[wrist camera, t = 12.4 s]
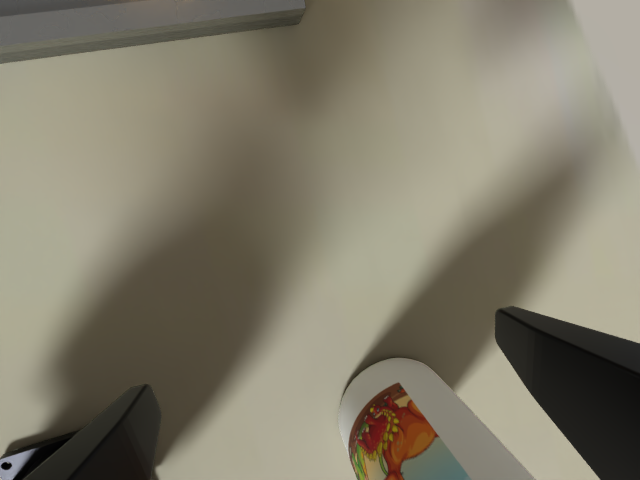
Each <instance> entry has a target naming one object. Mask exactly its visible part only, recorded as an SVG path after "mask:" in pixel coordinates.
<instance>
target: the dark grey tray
mask: <svg viewBox="0 0 640 480" xmlns="http://www.w3.org/2000/svg"><path fill="white" fill-rule="evenodd" d="M305 8H306V7H305V1H304V0H0V63H8V62H15V61H23V60H31V59H38V58H46V57H53V56H61V55H68V54H76V53H83V52H91V51H98V50H106V49H113V48H121V47H128V46H136V45H144V44H151V43H159V42H166V41H174V40H181V39H189V38H196V37H204V36H211V35H219V34H226V33H234V32H241V31H249V30H257V29H264V28H272V27H279V26H287V25H294V24H299V22H300V19H301V17H302V15H303V13H304V11H305Z"/></svg>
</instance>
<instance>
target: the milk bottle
mask: <svg viewBox="0 0 640 480" xmlns="http://www.w3.org/2000/svg"><path fill="white" fill-rule="evenodd" d="M338 424H339V430H340V433H341V436H342V439H343V442H344V445H345V448H346V451H347V453H348V456H349V458H350V461H351V464H352V466H353V469H354V472H355V474H356V477H357V480H536V479H535V478H534V477H533V476H532V475H531V474H530V473H529V472H528V471H527V470H526V468H525V467H524V466H523V465H522V464H521V463H520V462H519V461H518V460H517V459H516V458H515V457H514V455H513V454H512V453H511V452H510V451H509V450H508V449H507V448H506V447H505V446H504V445H503V444H502V443H501V441H500V440H499V439H498V438H497V437H496V436H495V435H494V434H493V433H492V432H491V431H490V430H489V429H488V428H487V426H486V425H485V424H484V423H483V422H482V421H481V420H480V419H479V418H478V417H477V416H476V415H475V414H474V413H473V412H472V410H471V409H470V408H469V407H468V406H467V405H466V404H465V403H464V402H463V401H462V400H461V399H460V398H459V397H458V396H457V395H456V393H455V392H454V391H453V390H452V389H451V388H450V387H449V386H448V385H447V384H446V383H445V382H444V381H443V380H442V379H441V378H440V377H439V376H438V375H437V374H436V373H435V372H434V371H433V370H432V369H431V368H430V367H428V366H427V365H425V364H423V363H421V362H419V361H416V360H412V359H408V358H390V359H386V360H383V361H379V362H377V363H375V364H373V365H371V366H369V367H368V368H366V369H365V370H363V371H362V372H361V373H360V374H359V375H358V376H357V377H356V378H355V379H353V381H352V382H351V384H350V385H349V386H348V388H347V389H346V391H345V394H344V395H343V397H342V401H341V405H340V408H339V416H338Z"/></svg>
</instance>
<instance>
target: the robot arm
mask: <svg viewBox="0 0 640 480" xmlns="http://www.w3.org/2000/svg"><path fill="white" fill-rule="evenodd" d="M495 339H496V342H497V344H498V346H499V347H500V349H501V350H502V352H503V353H504V355H505V356H506V358H507V359H508V361H509V362H510V364H511V365H512V367H513V368H514V370H515V371H516V373H517V374H518V376H519V377H520V379H521V380H522V382H523V383H524V385H525V386H526V388H527V389H528V391H529V392H530V393H531V395H532V396H533V397H534V399H535V400H536V401H537V402H538V404H539V405H540V406H541V407H542V409H543V410H544V411H545V412H546V413H547V415H548V416H549V417H550V418H551V420H552V421H553V422H554V423H555V424H556V426H557V427H558V428H559V429H560V431H561V432H562V433H563V434H564V436H565V437H566V438H567V439H568V440H569V442H570V443H571V444H572V445H573V447H574V448H575V449H576V450H577V451H578V453H579V454H580V455H581V456H582V458H583V459H584V460H585V461H586V463H587V464H588V465H589V466H590V467H591V469H592V470H593V471H594V472H595V474H596V475H597V476H598V477H599V478H600V480H640V343H636V342H633V341H630V340H626V339H623V338H619V337H616V336H613V335H609V334H606V333H602V332H599V331H596V330H592V329H589V328H585V327H582V326H579V325H575V324H572V323H568V322H565V321H562V320H558V319H555V318H552V317H548V316H545V315H541V314H538V313H535V312H531V311H528V310H524V309H521V308H518V307H514V306H509V307H504V308H500V309H498V310H497V311H496V313H495ZM160 423H161V410H160V407H159V404H158V402H157V399H156V397H155V394H154V392H153V389H152V387H151V386H150V385H148V384H145V385H140V386H135V387H132V388H130V389H129V390H127V391H126V392H125V393H124V394H123V395H122V396H120V397H119V398H118V399H117V400H116V401H115V402H113V403H112V404H111V405H110V406H109V407H108V408H106V409H105V410H104V411H103V412H102V413H101V414H99V415H98V416H97V417H96V418H95V419H94V420H92V421H91V422H90V423H89V424H88V425H87V426H85V427H84V428H83V429H82V430H80V431H77V432H73V433H70V434H67V435H64V436H60V437H57V438H54V439H50V440H47V441H44V442H41V443H37V444H34V445H31V446H27V447H24V448H21V449H18V450H14V451H11V452H8V453H5V454H3V456H2V457H1V458H0V478H1V479H2V480H152V478H151V476H152V470H153V464H154V458H155V452H156V447H157V441H158V435H159V429H160ZM7 462H10V463H11V464H8V463H7Z"/></svg>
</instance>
